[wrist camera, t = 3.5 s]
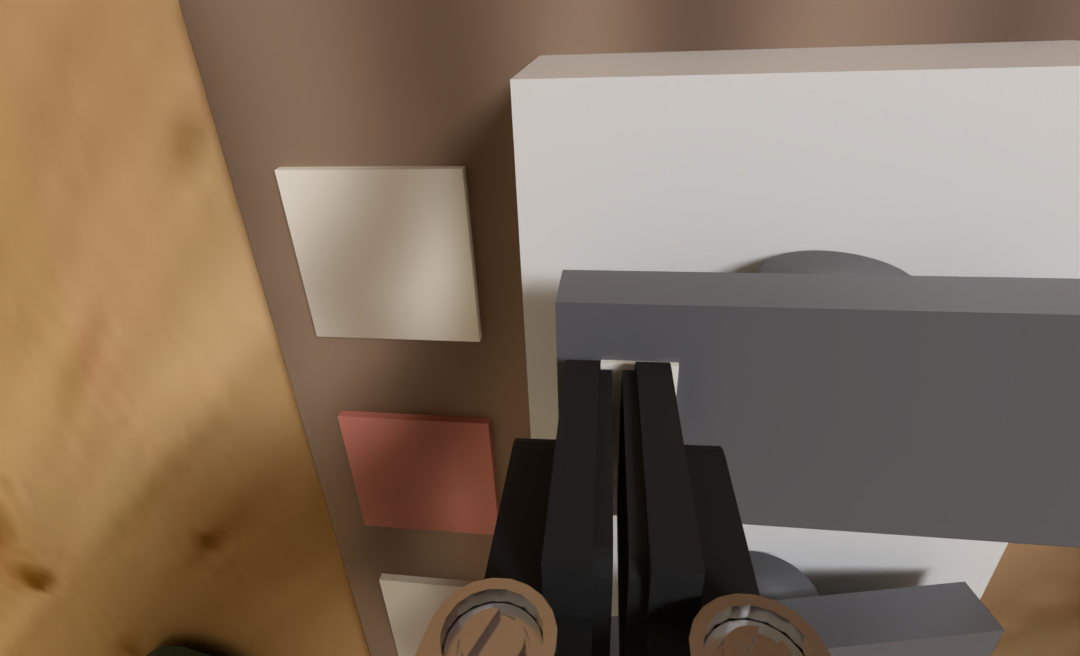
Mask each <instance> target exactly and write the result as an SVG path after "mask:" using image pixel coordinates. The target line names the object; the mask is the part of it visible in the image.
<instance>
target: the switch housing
mask: <svg viewBox="0 0 1080 656" xmlns="http://www.w3.org/2000/svg"><path fill="white" fill-rule="evenodd" d="M510 88H511V105H512V122H513V139H514V157H515V174H516V191H517V208H518V225H519V243H520V260H521V277H522V294H523V311H524V328H525V346H526V363H527V380H528V397H529V414H530V432H531V439H556V435H557V427H558V419H559V418H558V383H557V348H556V313H555V301H556V296H557V292H558V288H559V283H560V279H561V275H562V270H610V271H669V272H727V273H760V269H761V266H762V265H763V263H764V262H766V261H767V260H768V259H770V258H772V257H774V256H777V255H780V254H784V253H789V252H795V251H806V250H824V251H837V252H845V253H851V254H857V255H861V256H866V257H870V258H873V259H877V260H880V261H883V262H885V263H888V264H891V265H893V266H895V267H897V268H899V269H901V270H903V271H905V272H906V273H908V274H909V275H911V276H959V277H1017V278H1075V279H1080V41H1077V40H1060V41H1025V42H991V43H956V44H921V45H887V46H852V47H818V48H783V49H748V50H714V51H679V52H645V53H610V54H575V55H541V56H539V57H537V58H536V59H535V60H534V61H532V62H531V63H530V64H529V65H527V66H526V67H525V68H524V69H523V70H521V71H520V72H519V73H518V74H516V75H515V76H514V77H513V78H511V79H510ZM742 525H743V529H744V533H745V537H746V541H747V545H748V549H749V552H759V553H765V554H769V555H773V556H775V557H778V558H780V559H783V560H785V561H787V562H788V563H790V564H792V565H793V566H795V567H796V568H798V569H799V570H800V571H801V572H802V573H803V574H804V575H805V576H806V577H807V578H808V579H809V580H810V581H811V582H812V584H813V585H814V587H815V588H816V590H817V592H818V594H819V596H824V595H834V594H844V593H854V592H864V591H874V590H884V589H894V588H904V587H915V586H925V585H935V584H945V583H955V582H966V583H967V585H968V586H969V587H970V588H971V590H972V591H973V592H974V593H975V594H976V596H977V597H978V598H979V599H981V597H982V595H983V593H984V591H985V589H986V587H987V585H988V583H989V581H990V579H991V577H992V575H993V573H994V571H995V569H996V567H997V565H998V563H999V561H1000V559H1001V557H1002V555H1003V553H1004V551H1005V549H1006V547H1007V545H1008V543H1007V542H992V541H978V540H963V539H949V538H934V537H920V536H906V535H891V534H877V533H862V532H848V531H833V530H819V529H805V528H790V527H776V526H761V525H747V524H742ZM612 616H618V556H617V515H613V588H612V614H611V617H612Z"/></svg>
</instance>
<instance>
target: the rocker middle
mask: <svg viewBox="0 0 1080 656" xmlns="http://www.w3.org/2000/svg"><path fill="white" fill-rule="evenodd" d="M749 553H750V557H751V561H752V565H753V569H754V573H755V577H756V581H757V585H758V589H759V593H760V596H762V597H765V598H768V599H772V600H775V601H778V602H779V603H781V604H783V605H784V606H786V607H788V608H789V609H791V610H793V611H795V612H796V613H798V614H799V615H800V616H801V617H802V618H803V619H804V620H805V621H806V622H807V623H808V624H809V625H811V626H812V627H813V628H814V629H815V631H816V632H817V634H818V635H819V637H820V638H821V640H822V641H823V643H824V644H825V646H826V647H827V649H828V651H829V653H830V655H831V656H991V654H992V652H993V650H994V649H995V647H996V645H997V643H998V641H999V639H1000V638H1001V636H1002V634H1003V632H1004V629H1003V628H1002V626H1001V625H1000V624H999V623H998V621H997V620H996V619H995V618H994V617H993V615H992V614H991V613H990V612H989V610H988V609H987V608H986V607H985V606H984V604H983V603H982V602H981V601H980V599H979V598H978V597H977V596H976V594H975V593H974V592H973V591H972V590H971V588H970V587H969V586H968V585H967V583H966V582H955V583H945V584H935V585H925V586H915V587H904V588H894V589H884V590H874V591H864V592H854V593H844V594H834V595H824V596H819V594H818V592H817V590H816V588H815V587H814V585H813V584H812V582H811V581H810V580H809V579H808V578H807V577H806V576H805V575H804V574H803V573H802V572H801V571H800V570H799V569H798V568H796V567H795V566H793V565H792V564H790V563H788V562H787V561H785V560H783V559H780V558H778V557H775V556H773V555H769V554H765V553H759V552H749ZM610 656H619V624H618V616H612V617H611V640H610Z"/></svg>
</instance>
